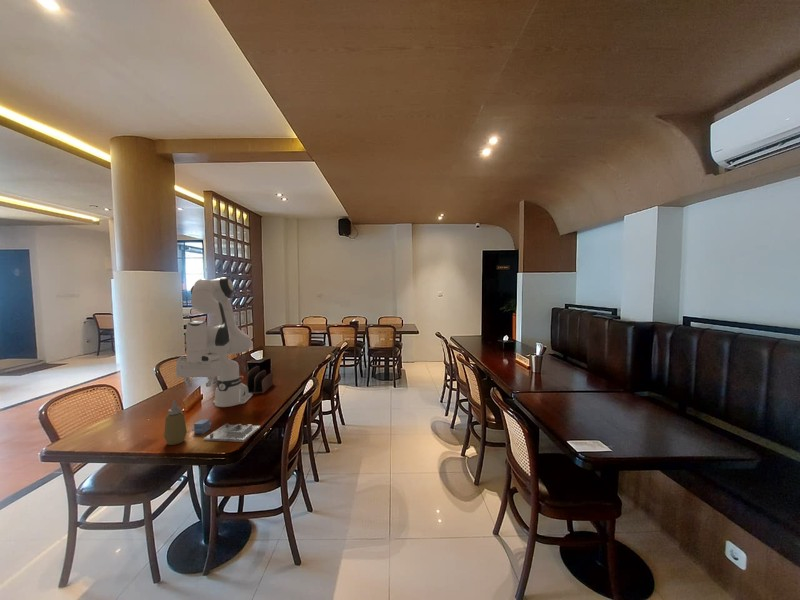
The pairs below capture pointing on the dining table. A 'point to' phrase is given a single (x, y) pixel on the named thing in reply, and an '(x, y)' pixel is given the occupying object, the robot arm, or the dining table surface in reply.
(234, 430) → the chassis
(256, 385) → the letter holder
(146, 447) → the dining table surface
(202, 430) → the servo
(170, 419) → the squeeze bottle
